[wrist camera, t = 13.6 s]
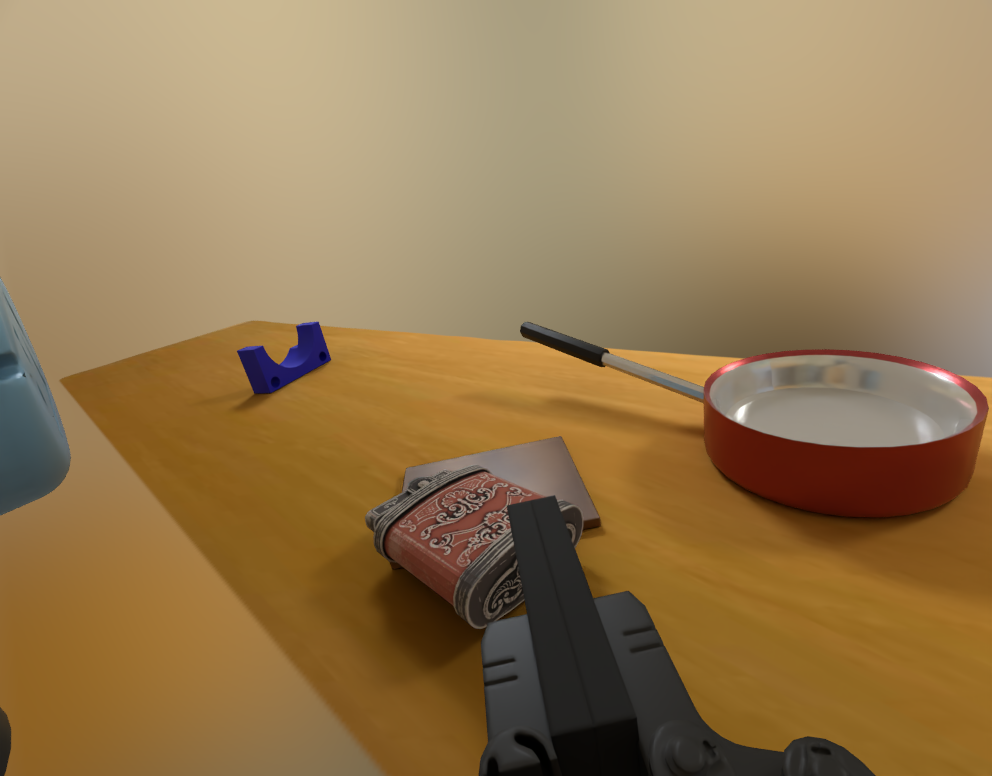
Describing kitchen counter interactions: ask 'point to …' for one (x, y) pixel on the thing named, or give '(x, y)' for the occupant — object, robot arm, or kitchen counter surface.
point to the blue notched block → (296, 364)
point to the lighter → (460, 538)
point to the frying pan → (827, 426)
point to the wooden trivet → (525, 473)
